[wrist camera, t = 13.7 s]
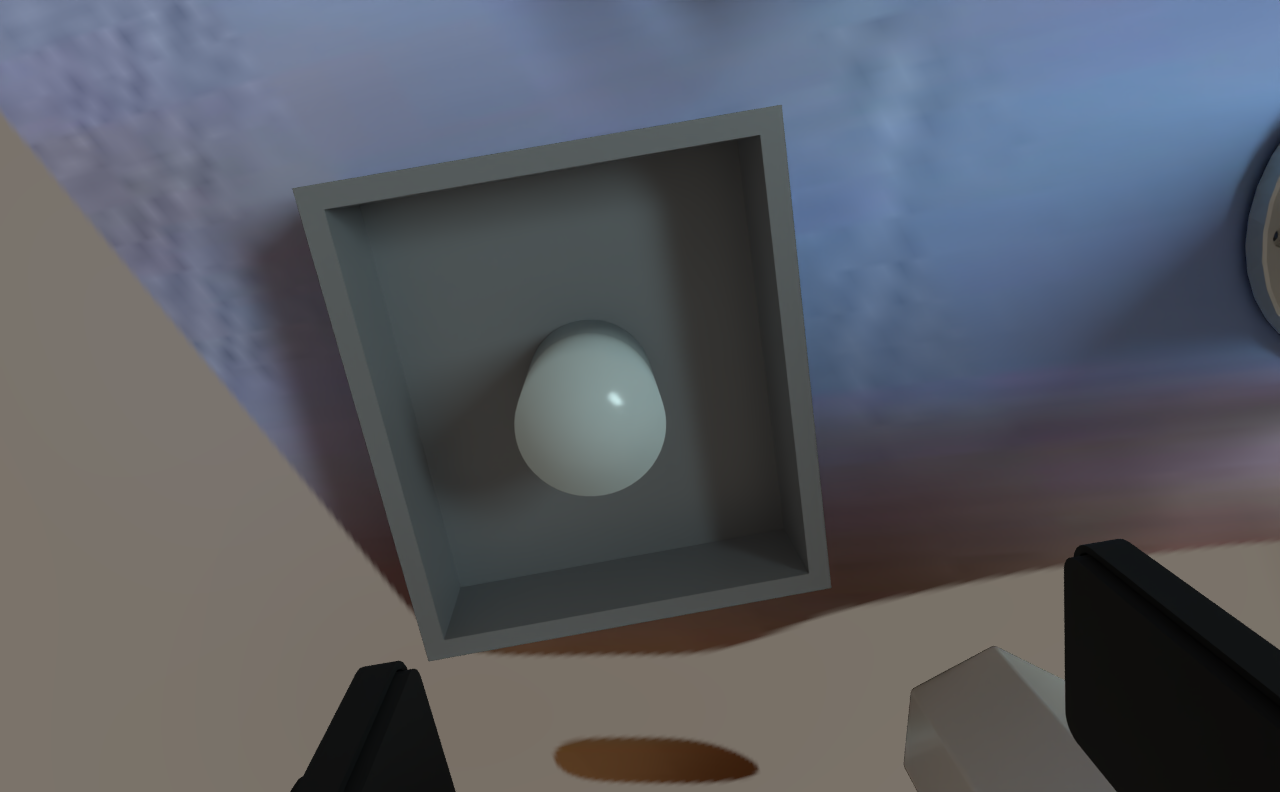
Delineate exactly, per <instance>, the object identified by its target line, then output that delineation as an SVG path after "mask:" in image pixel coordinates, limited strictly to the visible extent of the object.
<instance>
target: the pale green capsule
mask: <svg viewBox="0 0 1280 792" xmlns="http://www.w3.org/2000/svg"><path fill="white" fill-rule="evenodd" d="M514 429H515V437H516V441H517V445H518V448H519V451H520V453H521V455H522V457H523V459H524V460H525V462H526V463H527V465H528V466H529V468H530V469H531V470H532V471H533V472H534V473H535V474H536V475H537V476H538V477H539V478H540V479H541V480H543V481H544V482H546V483H547V484H548V485H550V486H552V487H554V488H556V489H558V490H560V491H563V492H566V493H569V494H573V495H579V496H601V495H607V494H611V493H614V492H617V491H620V490H622V489H624V488H626V487H628V486H630V485H632V484H633V483H635V482H636V481H637V480H639V479H640V478H641V477H642V476H643V475H644V474H645V473H646V472H647V471H648V470H649V469H650V468H651V467H652V465H653V464H654V462H655V461H656V459H657V457H658V455H659V453H660V451H661V449H662V446H663V443H664V439H665V433H666V416H665V410H664V406H663V402H662V399H661V396H660V393H659V390H658V387H657V384H656V381H655V378H654V375H653V372H652V369H651V366H650V363H649V360H648V357H647V355H646V353H645V351H644V349H643V347H642V346H641V345H640V343H639V342H638V341H637V340H636V339H635V338H634V337H633V336H632V335H631V334H630V333H629V332H627V331H626V330H624V329H623V328H621V327H619V326H617V325H615V324H612V323H609V322H606V321H601V320H579V321H575V322H571V323H568V324H566V325H563V326H561V327H559V328H558V329H556V330H555V331H553V332H552V333H550V334H549V335H548V336H547V337H546V338H545V339H544V340H543V341H542V343H541V344H540V345H539V347H538V348H537V350H536V352H535V354H534V356H533V358H532V361H531V364H530V367H529V370H528V373H527V376H526V379H525V382H524V385H523V388H522V391H521V394H520V398H519V401H518V404H517V408H516V412H515V420H514Z"/></svg>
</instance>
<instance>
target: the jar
mask: <svg viewBox="0 0 1280 792" xmlns="http://www.w3.org/2000/svg"><path fill="white" fill-rule="evenodd" d="M904 767H905V769H906V771H907V773H908V775H909V776H910V779H911V780H912V782H913V784H914V786H915V788H916V790H917V791H918V792H1116V790H1115V789H1114V788H1113V787H1112V786H1111V784H1110V783H1109V782H1108V781H1107V779H1106V778H1105V777H1104V776H1103V774H1102V773H1101V772H1100V771H1099V770H1098V768H1097V767H1096V766H1095V765H1094V763H1093V762H1092V761H1091V760H1090V758H1089V757H1088V756H1087V755H1086V754H1085V752H1084V751H1083V750H1082V749H1081V747H1080V746H1079V745H1078V744H1077V742H1076V741H1075V739H1074V738H1073V736H1072V734H1071V732H1070V730H1069V727H1068V724H1067V720H1066V714H1065V680H1063V679H1061V678H1059V677H1057V676H1055V675H1053V674H1051V673H1049V672H1047V671H1045V670H1043V669H1041V668H1039V667H1037V666H1035V665H1033V664H1031V663H1029V662H1027V661H1025V660H1022V659H1021V658H1019V657H1017V656H1015V655H1013V654H1011V653H1009V652H1007V651H1005V650H1003V649H1001V648H998V647H996V646H992V647H990V648H988V649H986V650H984V651H982V652H980V653H978V654H977V655H975V656H973V657H971V658H969V659H967V660H965V661H964V662H962V663H960V664H958V665H956V666H954V667H952V668H950V669H948V670H947V671H945V672H943V673H941V674H939V675H937V676H935V677H934V678H932V679H930V680H928V681H926V682H924V683H922V684H920V685H919V686H917V687H915V688H913V689H912V691H911V696H910V706H909V716H908V726H907V736H906V746H905V756H904Z"/></svg>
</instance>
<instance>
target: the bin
mask: <svg viewBox="0 0 1280 792" xmlns="http://www.w3.org/2000/svg"><path fill="white" fill-rule="evenodd" d="M292 189H293V193H294V196H295V199H296V203H297V206H298V210H299V213H300V217H301V220H302V224H303V227H304V231H305V234H306V238H307V241H308V245H309V248H310V252H311V255H312V258H313V262H314V265H315V269H316V272H317V276H318V279H319V283H320V286H321V290H322V293H323V297H324V300H325V304H326V307H327V310H328V314H329V317H330V321H331V324H332V328H333V331H334V335H335V338H336V342H337V345H338V349H339V352H340V356H341V359H342V363H343V366H344V369H345V373H346V376H347V380H348V383H349V387H350V390H351V394H352V397H353V401H354V404H355V408H356V411H357V415H358V418H359V422H360V425H361V428H362V432H363V435H364V439H365V442H366V446H367V449H368V453H369V456H370V460H371V463H372V467H373V470H374V474H375V477H376V481H377V484H378V487H379V491H380V494H381V498H382V501H383V505H384V508H385V512H386V515H387V519H388V522H389V526H390V529H391V533H392V536H393V540H394V543H395V546H396V550H397V553H398V557H399V560H400V564H401V567H402V571H403V574H404V578H405V581H406V585H407V588H408V592H409V595H410V599H411V602H412V605H413V609H414V612H415V616H416V619H417V623H418V626H419V630H420V633H421V636H422V640H423V643H424V647H425V650H426V654H427V657H428V661H433V660H439V659H444V658H450V657H455V656H461V655H466V654H472V653H477V652H483V651H488V650H494V649H499V648H505V647H510V646H516V645H521V644H527V643H532V642H538V641H543V640H549V639H554V638H560V637H565V636H571V635H576V634H582V633H587V632H593V631H598V630H603V629H609V628H614V627H620V626H625V625H631V624H636V623H642V622H647V621H653V620H658V619H664V618H669V617H675V616H680V615H686V614H691V613H697V612H702V611H708V610H713V609H719V608H724V607H730V606H735V605H741V604H746V603H752V602H757V601H763V600H768V599H774V598H779V597H785V596H790V595H795V594H801V593H806V592H812V591H817V590H823V589H828V588H831V581H830V571H829V561H828V552H827V542H826V532H825V522H824V513H823V503H822V493H821V483H820V474H819V464H818V454H817V444H816V435H815V425H814V415H813V406H812V396H811V386H810V376H809V367H808V357H807V347H806V337H805V328H804V318H803V308H802V298H801V289H800V279H799V269H798V260H797V250H796V240H795V230H794V221H793V211H792V201H791V191H790V182H789V172H788V162H787V152H786V143H785V133H784V123H783V114H782V105H777V106H772V107H766V108H760V109H754V110H748V111H742V112H736V113H731V114H725V115H719V116H713V117H707V118H701V119H696V120H690V121H684V122H678V123H672V124H666V125H661V126H655V127H649V128H643V129H637V130H631V131H625V132H620V133H614V134H608V135H602V136H596V137H590V138H585V139H579V140H573V141H567V142H561V143H555V144H549V145H544V146H538V147H532V148H526V149H520V150H514V151H509V152H503V153H497V154H491V155H485V156H479V157H473V158H468V159H462V160H456V161H450V162H444V163H438V164H433V165H427V166H421V167H415V168H409V169H403V170H397V171H392V172H386V173H380V174H374V175H368V176H362V177H357V178H351V179H345V180H339V181H333V182H327V183H321V184H316V185H310V186H304V187H298V188H292ZM579 320H601V321H606V322H609V323H612V324H615V325H617V326H619V327H621V328H623V329H624V330H626V331H627V332H629V333H630V334H631V335H632V336H633V337H634V338H635V339H636V340H637V341H638V342H639V343H640V345H641V346H642V347H643V349H644V351H645V353H646V355H647V357H648V360H649V363H650V366H651V369H652V372H653V375H654V378H655V381H656V384H657V387H658V390H659V393H660V396H661V399H662V402H663V406H664V410H665V416H666V433H665V439H664V443H663V446H662V449H661V451H660V453H659V455H658V457H657V459H656V461H655V462H654V464H653V465H652V467H651V468H650V469H649V470H648V471H647V472H646V473H645V474H644V475H643V476H642V477H641V478H640V479H639V480H637V481H636V482H635V483H633V484H632V485H630V486H628V487H626V488H624V489H622V490H620V491H617V492H614V493H611V494H607V495H601V496H579V495H573V494H569V493H566V492H563V491H560V490H558V489H556V488H554V487H552V486H550V485H548V484H547V483H546V482H544V481H543V480H541V479H540V478H539V477H538V476H537V475H536V474H535V473H534V472H533V471H532V470H531V469H530V468H529V466H528V465H527V463H526V462H525V460H524V459H523V457H522V455H521V453H520V451H519V448H518V445H517V441H516V437H515V429H514V420H515V412H516V408H517V404H518V401H519V398H520V394H521V391H522V388H523V385H524V382H525V379H526V376H527V373H528V370H529V367H530V364H531V361H532V358H533V356H534V354H535V352H536V350H537V348H538V347H539V345H540V344H541V343H542V341H543V340H544V339H545V338H546V337H547V336H548V335H549V334H550V333H552V332H553V331H555V330H556V329H558V328H559V327H561V326H563V325H566V324H568V323H571V322H575V321H579Z"/></svg>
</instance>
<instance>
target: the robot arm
mask: <svg viewBox="0 0 1280 792" xmlns="http://www.w3.org/2000/svg"><path fill="white" fill-rule="evenodd" d="M1245 248H1246V262H1247V274H1248V277H1249V281H1250V284H1251V288H1252V291H1253V295H1254V298H1255V300H1256V302H1257V304H1258V306H1259V307H1260V309H1261V311H1262V313H1263V315H1264V316H1265V318H1266V320H1267V321H1268V322H1269V323H1270V324H1271V325H1272V326H1273V327H1274V329H1275V330H1276V331H1277V332H1278V333H1279V334H1280V144H1279V145H1278V147H1277V149H1276V150H1275V152H1274V153H1273V155H1272V156H1271V158H1270V160H1269V162H1268V165H1267V167H1266V169H1265V171H1264V173H1263V175H1262V177H1261V179H1260V182H1259V184H1258V186H1257V189H1256V193H1255V196H1254V200H1253V203H1252V207H1251V210H1250V213H1249V218H1248V227H1247V236H1246V244H1245ZM1064 619H1065V621H1064V622H1065V714H1066V720H1067V724H1068V727H1069V730H1070V732H1071V734H1072V736H1073V738H1074V739H1075V741H1076V742H1077V744H1078V745H1079V746H1080V747H1081V749H1082V750H1083V751H1084V752H1085V754H1086V755H1087V756H1088V757H1089V758H1090V760H1091V761H1092V762H1093V763H1094V765H1095V766H1096V767H1097V768H1098V770H1099V771H1100V772H1101V773H1102V774H1103V776H1104V777H1105V778H1106V779H1107V781H1108V782H1109V783H1110V784H1111V786H1112V787H1113V788H1114V789H1115V790H1116V792H1280V650H1279V649H1278V648H1276V647H1275V646H1273V645H1272V644H1271V643H1269V642H1268V641H1266V640H1265V639H1264V638H1262V637H1261V636H1259V635H1258V634H1257V633H1255V632H1254V631H1252V630H1251V629H1250V628H1248V627H1247V626H1245V625H1244V624H1243V623H1241V622H1240V621H1239V620H1237V619H1236V618H1234V617H1233V616H1232V615H1230V614H1229V613H1227V612H1226V611H1225V610H1223V609H1222V608H1220V607H1219V606H1218V605H1216V604H1215V603H1213V602H1212V601H1210V600H1209V599H1208V598H1206V597H1205V596H1204V595H1202V594H1201V593H1199V592H1198V591H1197V590H1195V589H1194V588H1192V587H1191V586H1190V585H1188V584H1187V583H1185V582H1184V581H1183V580H1181V579H1180V578H1179V577H1177V576H1176V575H1174V574H1173V573H1172V572H1170V571H1169V570H1167V569H1166V568H1165V567H1163V566H1162V565H1160V564H1159V563H1158V562H1156V561H1155V560H1153V559H1152V558H1151V557H1149V556H1148V555H1146V554H1145V553H1144V552H1142V551H1141V550H1139V549H1138V548H1137V547H1135V546H1134V545H1132V544H1131V543H1130V542H1128V541H1126V540H1124V539H1115V540H1109V541H1103V542H1097V543H1091V544H1086V545H1080V546H1079V547H1077V548H1076V550H1075V553H1074V557H1072V558H1068V559H1067V560H1066V562H1065V565H1064ZM291 792H455V788H454V785H453V782H452V778H451V775H450V772H449V768H448V765H447V762H446V758H445V755H444V752H443V749H442V745H441V742H440V739H439V735H438V732H437V729H436V726H435V722H434V719H433V715H432V712H431V709H430V706H429V702H428V699H427V696H426V692H425V689H424V686H423V682H422V679H421V676H420V674H419V672H418V671H417V670H416V669H410V670H407V667H406V666H405V665H404V663H403V662H401V661H395V662H389V663H383V664H377V665H371V666H365V667H362V668H360V669H359V670H358V671H357V673H356V674H355V676H354V678H353V680H352V682H351V684H350V686H349V688H348V690H347V692H346V694H345V696H344V698H343V700H342V702H341V704H340V706H339V708H338V710H337V711H336V713H335V715H334V717H333V719H332V721H331V723H330V725H329V727H328V729H327V731H326V733H325V735H324V737H323V739H322V741H321V743H320V744H319V747H318V748H317V750H316V752H315V754H314V756H313V758H312V760H311V762H310V764H309V766H308V768H307V770H306V772H305V774H304V776H303V777H301V778H300V779H298V781H297V782H296V784H295V785H294V787H293V788H292V790H291Z"/></svg>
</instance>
